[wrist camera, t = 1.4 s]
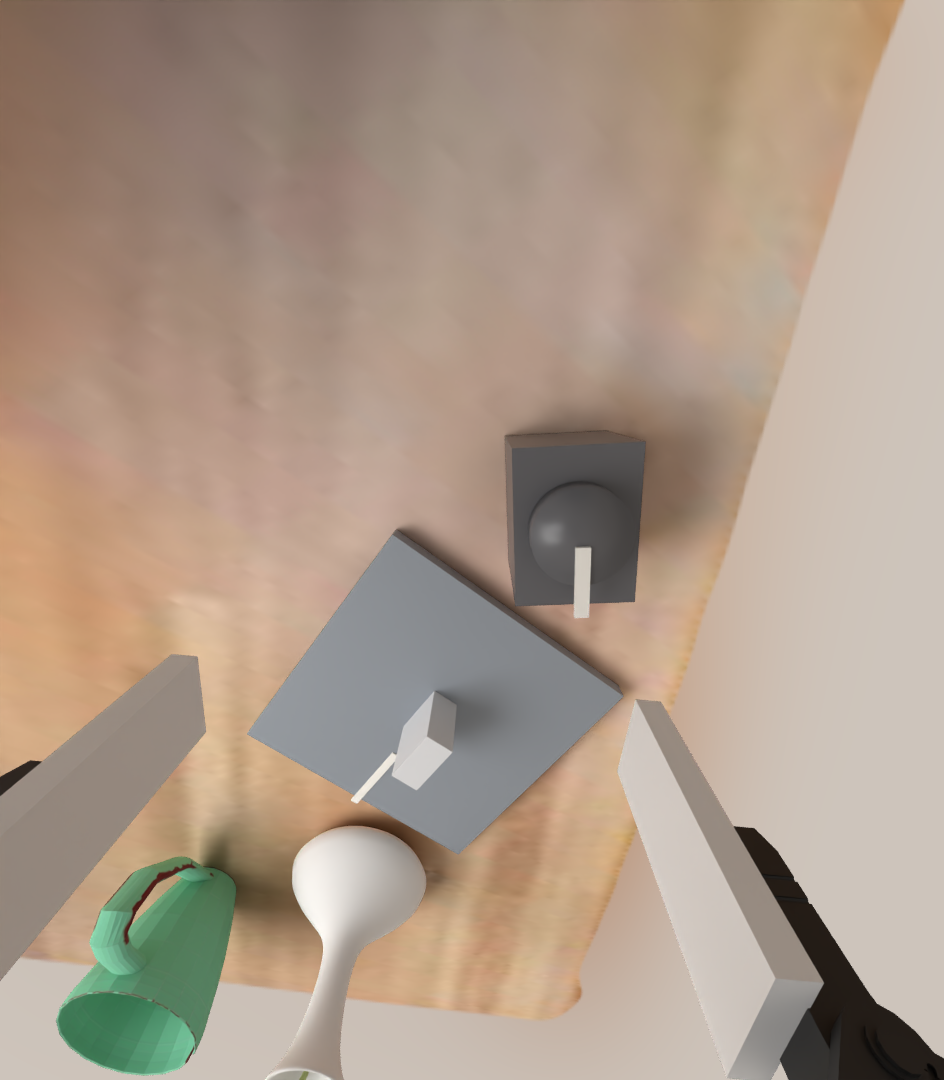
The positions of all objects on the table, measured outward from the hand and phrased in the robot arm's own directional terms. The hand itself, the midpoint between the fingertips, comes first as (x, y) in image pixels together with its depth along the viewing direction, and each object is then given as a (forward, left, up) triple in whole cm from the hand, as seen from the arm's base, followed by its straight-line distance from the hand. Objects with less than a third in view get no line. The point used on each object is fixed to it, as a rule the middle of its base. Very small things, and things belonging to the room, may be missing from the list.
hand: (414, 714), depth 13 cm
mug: (+39, +1, -17) cm, 42 cm away
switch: (+12, +7, -17) cm, 22 cm away
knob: (-6, +4, -17) cm, 18 cm away
